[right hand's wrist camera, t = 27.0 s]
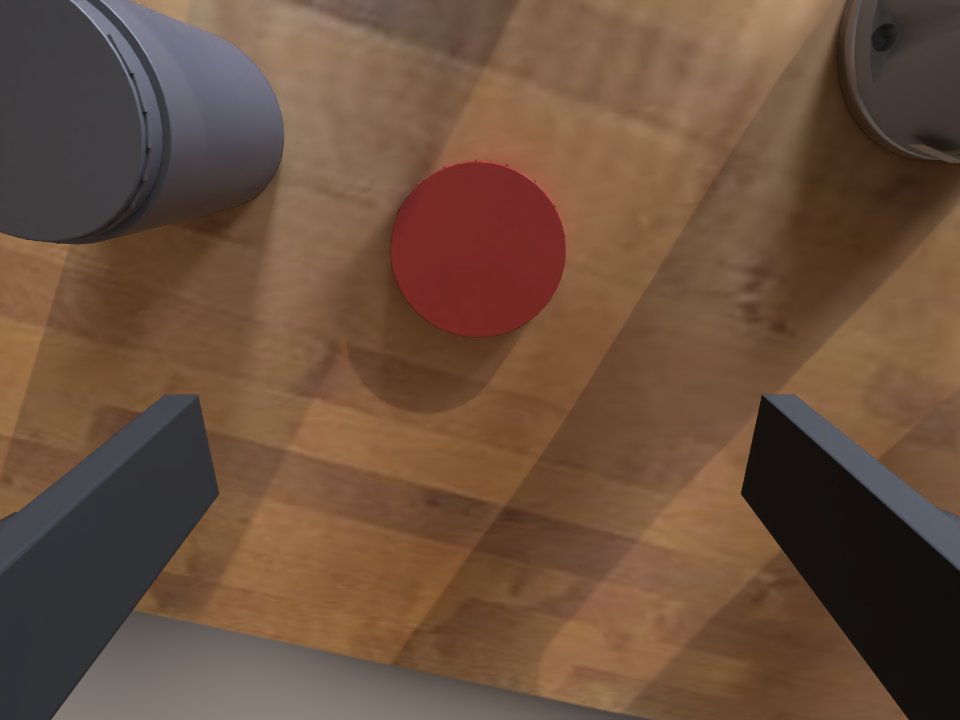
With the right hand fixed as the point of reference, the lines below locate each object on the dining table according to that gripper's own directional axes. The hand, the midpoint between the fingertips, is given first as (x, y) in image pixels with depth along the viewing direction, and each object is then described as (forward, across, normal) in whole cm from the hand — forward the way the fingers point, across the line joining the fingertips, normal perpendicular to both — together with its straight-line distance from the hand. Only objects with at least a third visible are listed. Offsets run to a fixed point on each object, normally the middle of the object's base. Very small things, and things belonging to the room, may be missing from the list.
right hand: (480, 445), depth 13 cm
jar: (+26, +17, -8) cm, 32 cm away
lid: (+24, 0, 0) cm, 24 cm away
